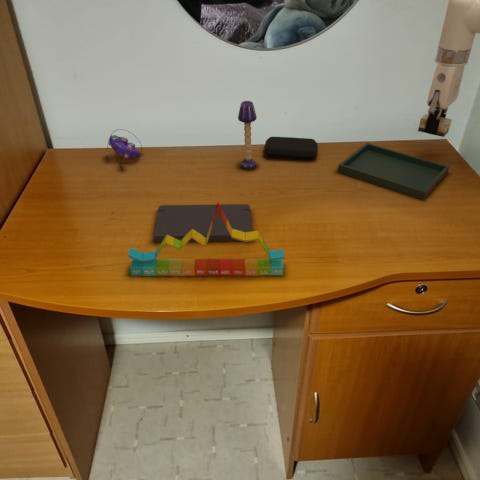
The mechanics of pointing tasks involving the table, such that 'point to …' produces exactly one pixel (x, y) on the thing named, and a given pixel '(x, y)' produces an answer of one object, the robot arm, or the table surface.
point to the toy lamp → (247, 132)
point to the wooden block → (442, 128)
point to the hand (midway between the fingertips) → (433, 130)
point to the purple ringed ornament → (123, 147)
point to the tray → (394, 170)
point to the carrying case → (291, 148)
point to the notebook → (201, 221)
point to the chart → (201, 267)
